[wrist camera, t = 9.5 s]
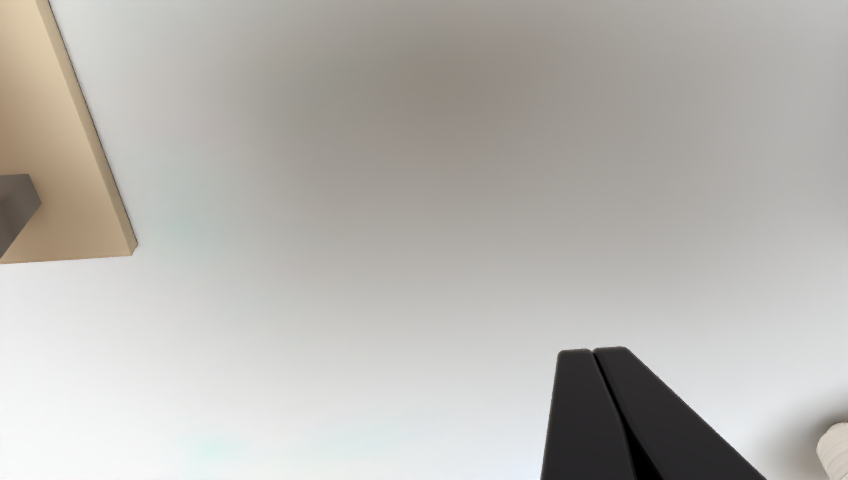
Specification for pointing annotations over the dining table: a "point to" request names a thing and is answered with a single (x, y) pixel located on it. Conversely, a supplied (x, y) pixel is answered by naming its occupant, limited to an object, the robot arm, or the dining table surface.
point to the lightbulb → (835, 451)
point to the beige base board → (50, 151)
